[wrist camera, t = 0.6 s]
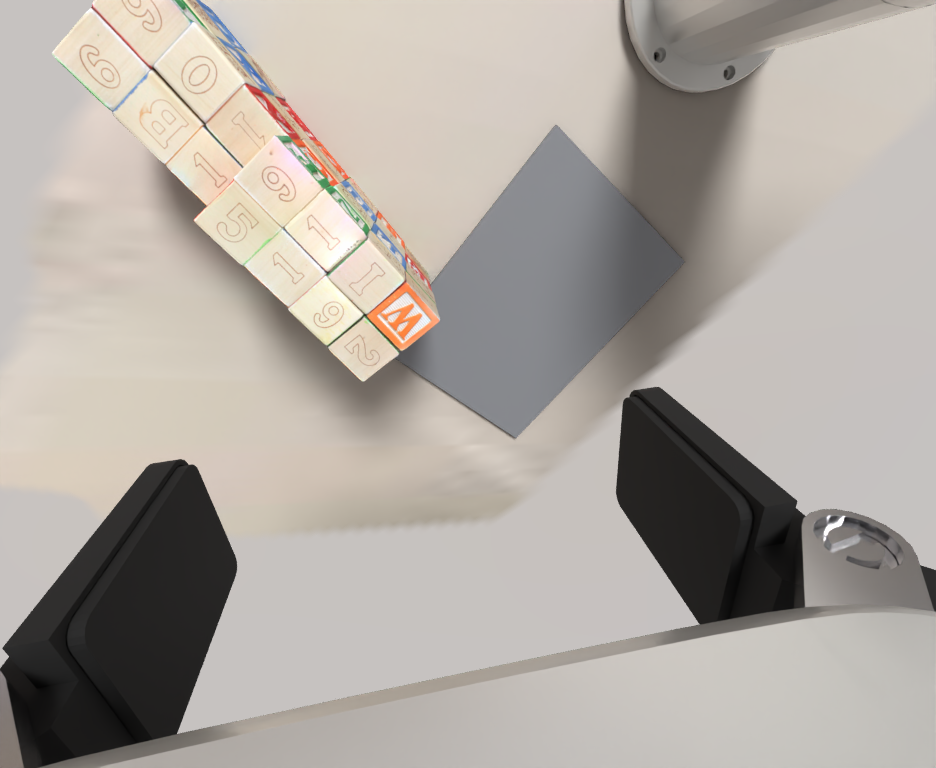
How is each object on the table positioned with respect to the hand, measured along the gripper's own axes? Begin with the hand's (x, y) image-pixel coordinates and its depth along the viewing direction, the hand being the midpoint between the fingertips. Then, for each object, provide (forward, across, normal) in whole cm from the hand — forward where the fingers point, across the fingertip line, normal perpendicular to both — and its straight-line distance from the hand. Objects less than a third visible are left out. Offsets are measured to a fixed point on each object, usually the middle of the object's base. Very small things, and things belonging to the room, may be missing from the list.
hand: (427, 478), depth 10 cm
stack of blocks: (+30, +6, -5) cm, 31 cm away
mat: (+29, -11, +6) cm, 32 cm away
